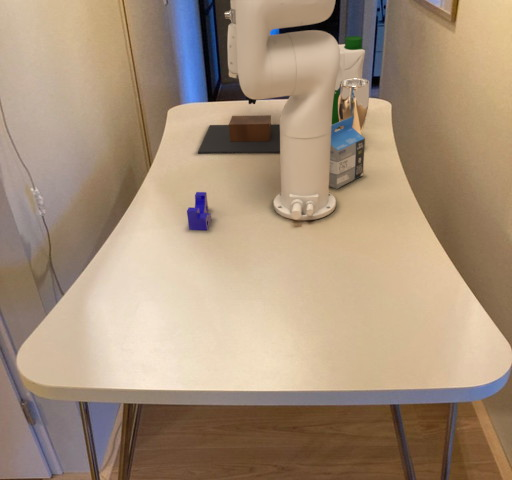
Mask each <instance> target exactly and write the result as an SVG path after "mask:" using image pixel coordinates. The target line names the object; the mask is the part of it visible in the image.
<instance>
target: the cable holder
mask: <svg viewBox="0 0 512 480" xmlns="http://www.w3.org/2000/svg"><path fill="white" fill-rule="evenodd" d="M194 202H195V203H194V207H188V208H187V210H186V215H187V222H188V228H189V231H208V229H209V227H210V224H211V223H212V213H211V212H210V213H209V206H208V205H209V204H208V194H207V192H206V191H196V192H195V194H194Z"/></svg>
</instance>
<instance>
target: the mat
mask: <svg viewBox="0 0 512 480" xmlns="http://www.w3.org/2000/svg"><path fill="white" fill-rule="evenodd" d="M271 129H272V133H271V138H270V141H261V142H230V132H229V124H210V125H209V126H208V128H207V130H206V133H205V135H204V137H203V138H202V139H203V140H202V141H201V144H200V146H199V149H198V151H197V154H199V155H200V154H207V155H208V154H212V155H213V154H280V123H279V124H278V123H275V124H274V123H273V124H272V123H271Z"/></svg>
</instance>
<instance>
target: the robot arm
mask: <svg viewBox="0 0 512 480" xmlns="http://www.w3.org/2000/svg"><path fill="white" fill-rule="evenodd" d="M229 3H230V9H229V10H227V11H224V19H228V20H230V23H229V24H228V26H227V39H226V40H227V42H226V43H227V46H226V47H227V48H226V49H227V69H228V77H229V78H231V79H232V78H233V79H237V80H238V82H239V87H240V89H241V91H242V93H243V94H244V96H245V100H248V105H256V103H257V100H269V99H276V98H283V97H288V98H287V100H286V101H285V104H284V106H283V108H282V110H281V113H280V118H279V124H280V153H279V161H280V162H279V165H280V167H279V168H280V193H278V194H277V195H276V196H275V197H274V199H273V202H272V204H273V209H274V211H275V212H276V213H277V214H278V215H280V216H281V217H284V218H286V219H290V220H295V221H315V220H318V219H319V220H320V219H323V218H326V217H327V216H329V215H330V214H332V213H333V212H334V211H335V209H336V208H337V207H336V206H337V204H336V203H337V200H336V197H335V196H334V195H333V194H332V193H331V192H330V191H329V190H330V186H329V171H330V148H331V127H332V109H333V99H334V92H335V87H336V82H337V77H338V73H339V67H340V49H339V45H340V44H339V43H338V41H337V39H336V38H335V37H334V35H332V34H331V33H328V32H327V31H324V30H317V29H311V30H300V31H291V32H284V33H278V34H271V32H272V31H273V30H277V29H287V28H295V27H303V26H309V25H310V26H311V25H315V24H319V23H322V22H325V21H326V20H328V19H329V18H330V17H331V16H332V14H333V12H334V9H335V5H336V0H230V1H229Z"/></svg>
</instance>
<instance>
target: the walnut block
mask: <svg viewBox="0 0 512 480" xmlns="http://www.w3.org/2000/svg"><path fill="white" fill-rule="evenodd" d="M271 124H272V115H269V114H267V115H266V114H265V115H264V114H263V115H261V114H260V115H258V114H257V115H232V116H231V117H230V121H229V123H228V125H229V132H230V142H261V141H270V138H271V133H272V129H271Z"/></svg>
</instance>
